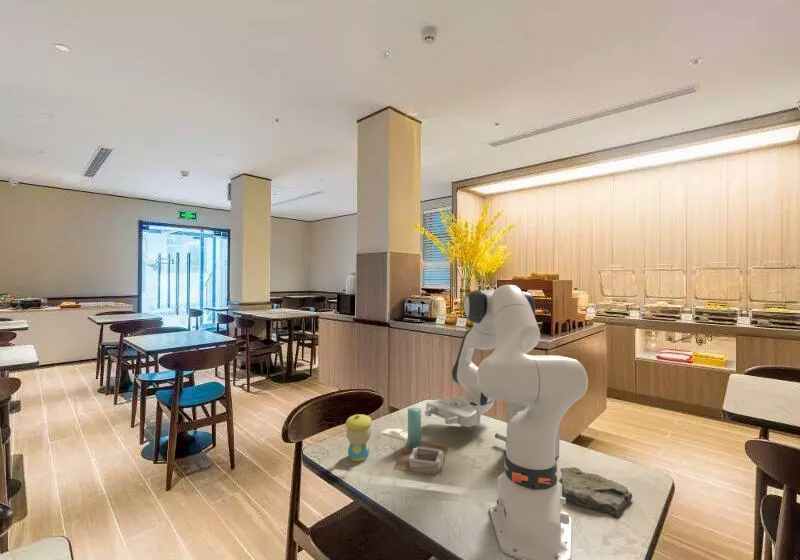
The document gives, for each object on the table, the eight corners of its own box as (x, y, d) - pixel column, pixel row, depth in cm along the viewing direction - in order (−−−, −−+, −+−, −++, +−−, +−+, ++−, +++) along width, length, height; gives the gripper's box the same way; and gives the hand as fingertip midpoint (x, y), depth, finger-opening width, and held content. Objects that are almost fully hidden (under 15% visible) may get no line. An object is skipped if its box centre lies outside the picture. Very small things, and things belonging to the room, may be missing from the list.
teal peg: (419, 449, 121) (419, 412, 121) (406, 448, 122) (406, 411, 122) (422, 443, 125) (422, 408, 125) (409, 442, 127) (409, 407, 126)
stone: (633, 495, 100) (633, 482, 100) (625, 525, 88) (625, 510, 88) (562, 473, 111) (563, 462, 111) (547, 497, 99) (547, 484, 99)
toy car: (387, 432, 139) (387, 423, 139) (414, 440, 132) (414, 430, 132) (378, 437, 134) (378, 428, 134) (406, 446, 128) (406, 436, 128)
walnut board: (440, 481, 106) (440, 465, 106) (392, 474, 109) (392, 458, 109) (448, 449, 125) (449, 435, 125) (408, 444, 129) (408, 431, 128)
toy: (373, 455, 120) (374, 409, 120) (368, 470, 111) (368, 420, 111) (349, 454, 121) (349, 408, 121) (342, 469, 112) (342, 419, 112)
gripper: (440, 393, 148) (415, 401, 138) (483, 407, 132) (458, 416, 123) (440, 409, 148) (415, 418, 138) (483, 425, 132) (458, 435, 123)
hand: (436, 417), depth 131 cm, fingers open, 8 cm apart
